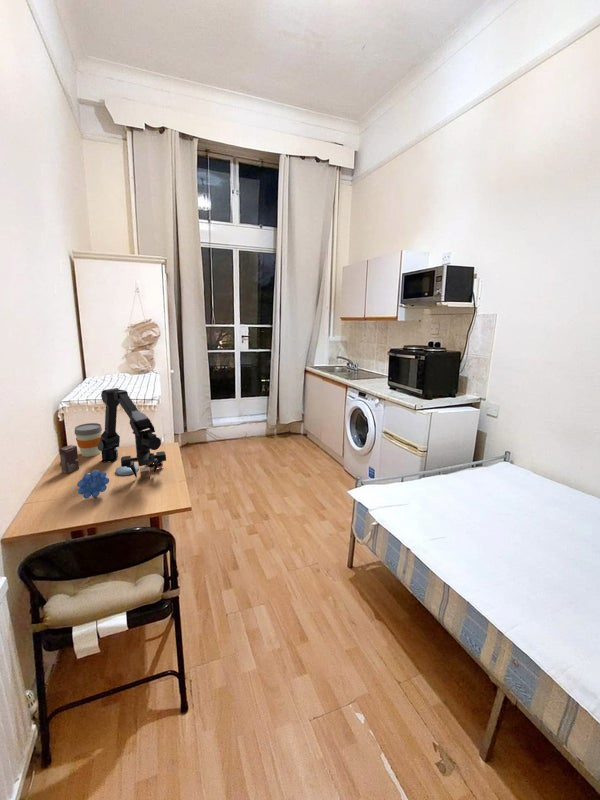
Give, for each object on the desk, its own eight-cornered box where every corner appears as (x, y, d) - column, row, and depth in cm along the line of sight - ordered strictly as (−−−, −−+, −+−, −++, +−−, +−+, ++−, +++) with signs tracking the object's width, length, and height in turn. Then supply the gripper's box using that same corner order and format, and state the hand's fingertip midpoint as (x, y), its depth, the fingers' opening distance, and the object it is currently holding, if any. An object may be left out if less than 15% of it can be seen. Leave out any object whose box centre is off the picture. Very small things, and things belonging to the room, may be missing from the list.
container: (147, 470, 171) (146, 459, 170) (146, 464, 178) (145, 453, 176) (163, 468, 174) (162, 457, 173) (162, 462, 181) (161, 451, 179)
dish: (113, 476, 165) (112, 473, 165) (119, 466, 174) (118, 464, 174) (136, 474, 167) (135, 472, 167) (140, 465, 176) (140, 463, 176)
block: (141, 480, 162) (140, 471, 161) (140, 476, 165) (140, 468, 164) (150, 479, 163) (149, 470, 162) (150, 475, 167) (149, 466, 166)
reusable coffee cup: (96, 458, 183) (92, 431, 180) (72, 457, 183) (68, 430, 180) (109, 449, 195) (106, 423, 192) (86, 448, 196) (83, 422, 192)
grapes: (110, 489, 153) (107, 463, 150) (111, 496, 148) (108, 470, 145) (79, 495, 147) (75, 469, 144) (78, 503, 142) (74, 476, 139)
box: (68, 474, 166) (64, 450, 163) (61, 472, 167) (58, 448, 164) (80, 469, 171) (77, 445, 168) (74, 467, 173) (70, 444, 170)
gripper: (119, 453, 149) (122, 487, 153) (166, 447, 157) (168, 479, 161) (119, 444, 159) (123, 476, 163) (164, 439, 167) (166, 469, 171)
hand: (145, 475), depth 164 cm, fingers open, 7 cm apart
